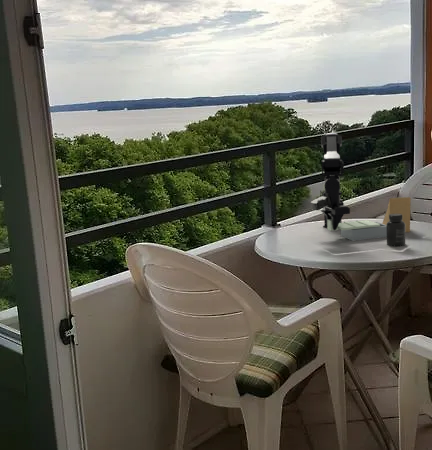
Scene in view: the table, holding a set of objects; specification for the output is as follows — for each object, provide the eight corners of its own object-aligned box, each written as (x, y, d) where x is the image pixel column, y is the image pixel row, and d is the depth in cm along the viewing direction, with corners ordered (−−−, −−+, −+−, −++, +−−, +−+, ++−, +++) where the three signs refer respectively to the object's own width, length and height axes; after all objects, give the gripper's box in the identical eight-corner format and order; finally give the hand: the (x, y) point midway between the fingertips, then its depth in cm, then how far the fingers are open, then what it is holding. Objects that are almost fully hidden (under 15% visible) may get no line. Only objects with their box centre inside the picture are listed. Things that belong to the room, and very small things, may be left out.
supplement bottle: (405, 244, 243) (406, 212, 240) (404, 248, 236) (405, 216, 234) (387, 243, 245) (387, 212, 243) (385, 247, 238) (385, 216, 236)
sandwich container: (400, 226, 276) (400, 191, 273) (410, 233, 261) (411, 197, 258) (380, 227, 276) (380, 192, 273) (389, 234, 261) (389, 198, 258)
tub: (352, 242, 250) (351, 230, 249) (340, 237, 260) (340, 225, 259) (389, 238, 254) (389, 226, 253) (376, 233, 264) (376, 221, 263)
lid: (334, 232, 248) (334, 222, 247) (323, 227, 257) (323, 218, 256) (380, 227, 252) (380, 217, 251) (367, 223, 262) (367, 213, 261)
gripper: (303, 188, 256) (304, 226, 259) (323, 194, 239) (323, 235, 242) (329, 186, 259) (329, 224, 262) (350, 192, 242) (350, 232, 245)
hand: (332, 229), depth 253 cm, fingers closed on lid, 3 cm apart
